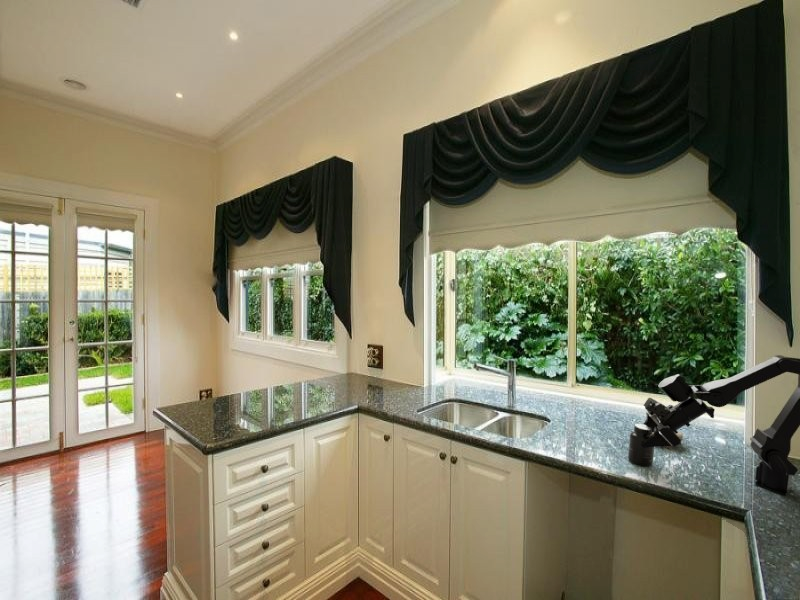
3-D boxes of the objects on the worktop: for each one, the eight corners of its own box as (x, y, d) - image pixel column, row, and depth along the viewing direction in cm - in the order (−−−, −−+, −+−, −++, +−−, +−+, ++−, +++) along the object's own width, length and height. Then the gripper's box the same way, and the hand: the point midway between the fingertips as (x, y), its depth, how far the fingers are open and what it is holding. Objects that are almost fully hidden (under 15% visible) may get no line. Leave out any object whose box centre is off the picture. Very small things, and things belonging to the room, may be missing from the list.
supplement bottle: (622, 458, 125) (625, 423, 124) (637, 455, 127) (640, 420, 126) (642, 469, 118) (645, 432, 117) (658, 465, 121) (661, 429, 120)
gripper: (656, 383, 127) (616, 409, 133) (671, 401, 110) (624, 431, 116) (683, 410, 125) (641, 436, 130) (702, 433, 108) (652, 461, 113)
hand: (639, 440), depth 122 cm, fingers open, 9 cm apart
